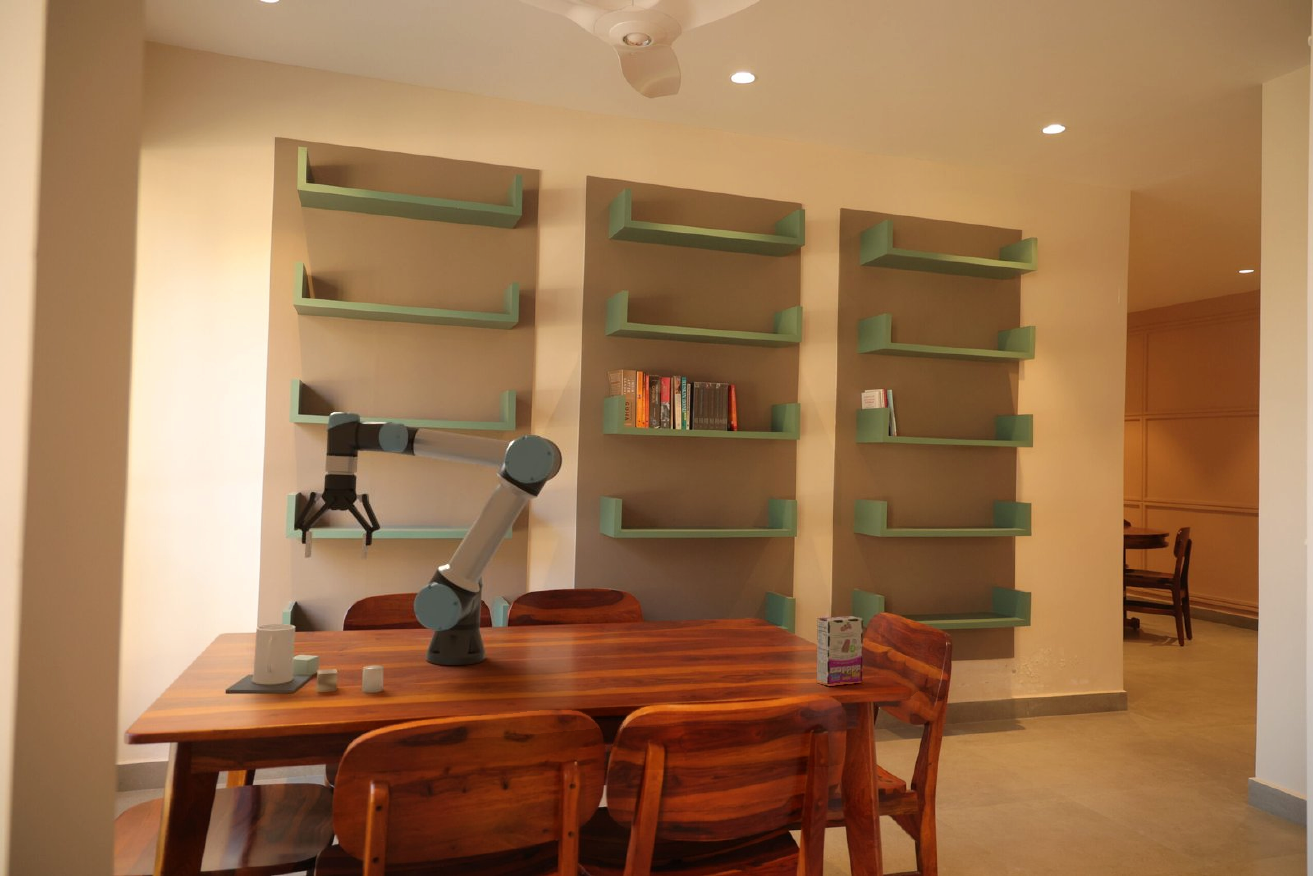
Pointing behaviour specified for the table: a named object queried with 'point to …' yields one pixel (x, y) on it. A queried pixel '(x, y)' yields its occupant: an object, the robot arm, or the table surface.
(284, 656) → the mug
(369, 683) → the beige rounded block
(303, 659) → the sage block
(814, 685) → the table surface
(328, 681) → the maple block
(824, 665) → the candy bar box
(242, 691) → the coaster
